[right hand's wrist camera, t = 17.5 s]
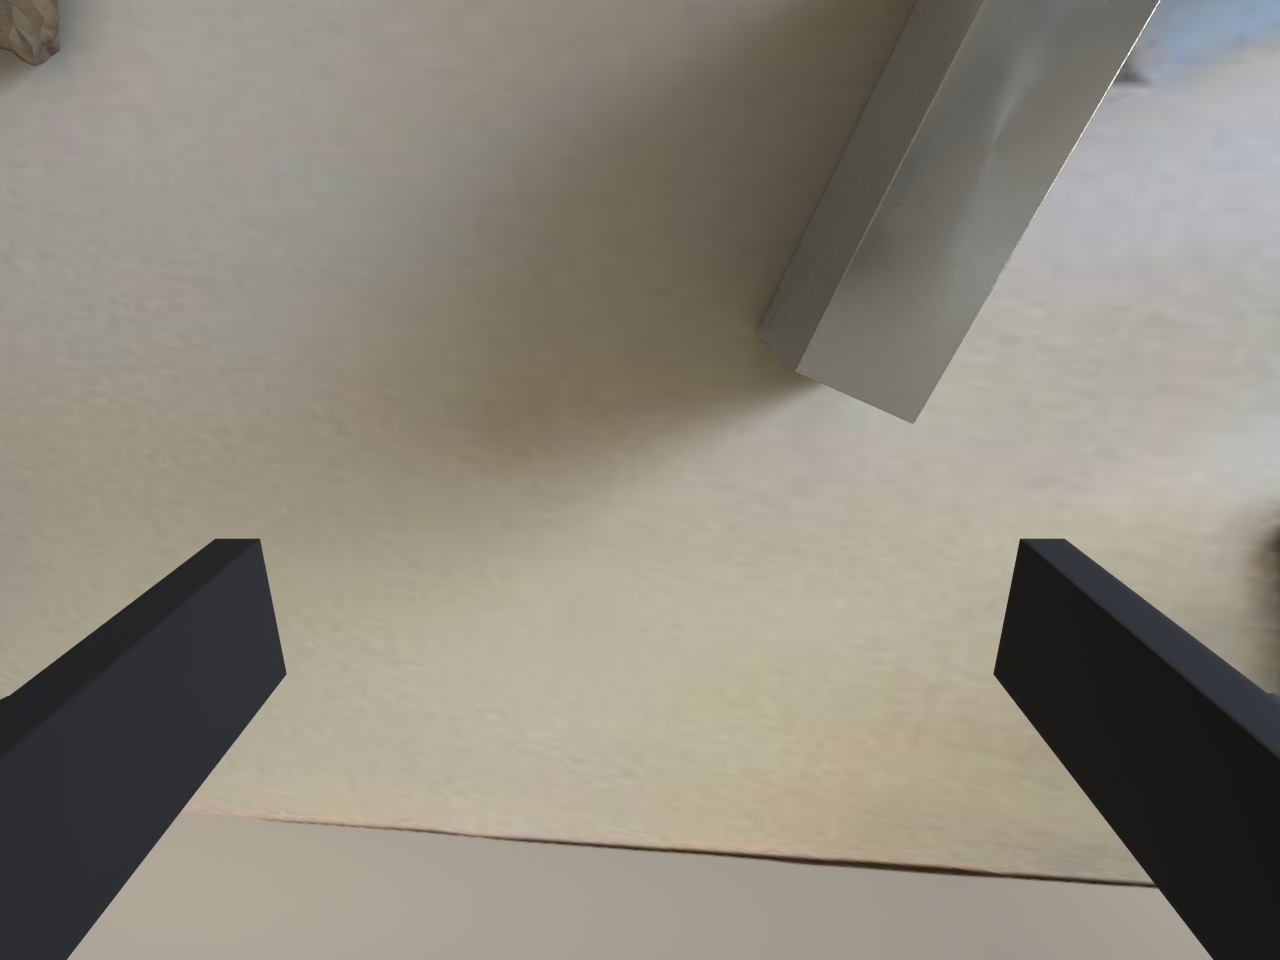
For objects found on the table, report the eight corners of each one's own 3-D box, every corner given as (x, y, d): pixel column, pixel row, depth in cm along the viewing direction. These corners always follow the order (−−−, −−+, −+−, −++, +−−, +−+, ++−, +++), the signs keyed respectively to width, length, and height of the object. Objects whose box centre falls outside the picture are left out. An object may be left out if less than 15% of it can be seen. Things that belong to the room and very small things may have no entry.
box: (961, -91, 35) (1095, -219, 25) (1066, -32, 36) (1238, -132, 26) (755, 332, 42) (793, 371, 32) (847, 374, 43) (914, 424, 32)
